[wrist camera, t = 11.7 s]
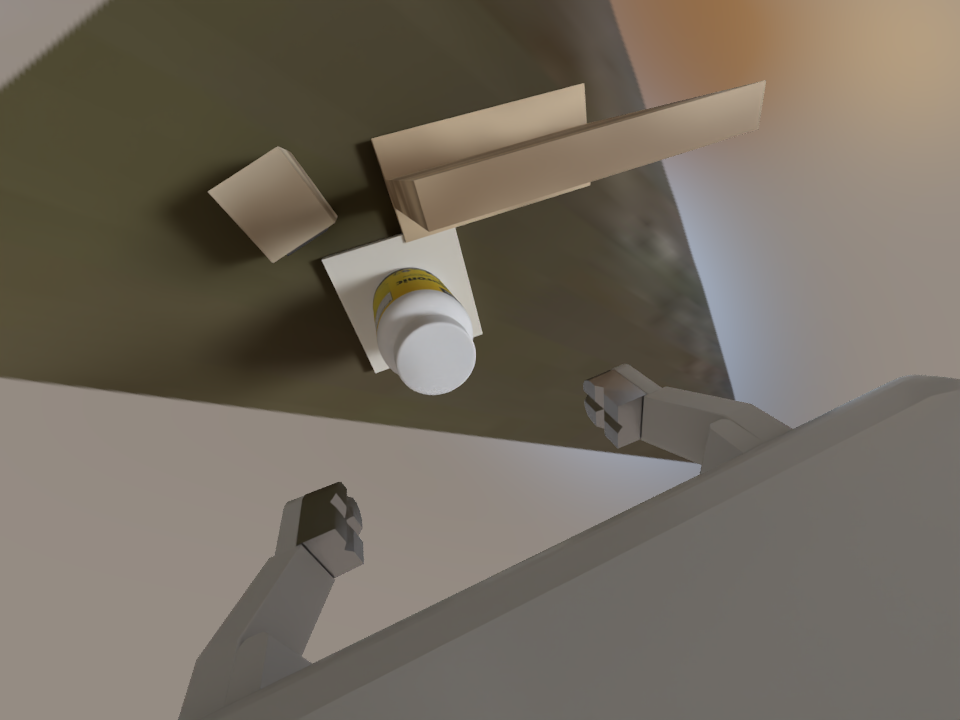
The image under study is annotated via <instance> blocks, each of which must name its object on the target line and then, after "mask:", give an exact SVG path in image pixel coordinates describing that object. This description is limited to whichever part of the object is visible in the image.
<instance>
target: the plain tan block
mask: <svg viewBox="0 0 960 720" xmlns="http://www.w3.org/2000/svg"><path fill="white" fill-rule="evenodd" d="M208 193H209V194H210V195H211V196H212V197H213V198H214V199H215V200H216V201H217V203H218V204H219V205H220V206H221V207H222V208H223V209H224V210H225V211H226V212H227V213H228V215H229V216H230V217H231V218H232V219H233V220H234V221H235V222H236V223H237V224H238V226H239V227H240V228H241V229H242V230H243V231H244V232H245V233H246V234H247V235H248V237H249V238H250V239H251V240H252V241H253V242H254V243H255V244H256V245H257V246H258V247H259V249H260V250H261V251H262V252H263V253H264V254H265V255H266V256H267V257H268V258H269V260H270V261H271V262H272V263H274V262H276V261H277V260H279V259H280V258H282V257H283V256H285V255H286V254H287V256H289V255H290V254H292V253H294V252H295V251H297V250H298V249H300V248H301V247H303V246H304V245H306V244H307V243H309V242H310V241H312V240H313V239H315V238H317V237H318V236H320V235H321V234H323V233H324V232H326V231H327V230H328V228H329V226H331V225H332V224H334V223H335V221H336V219H337V217H338V216H337V215H336V213H335V212H334V211H333V209H332V208H331V206H330V205H329V204H328V202H327V201H326V200H325V198H324V197H323V195H322V194H321V193H320V191H319V190H318V189H317V187H316V186H315V185H314V183H313V182H312V180H311V179H310V178H309V176H308V175H307V174H306V172H305V171H304V170H303V168H302V167H301V165H300V164H299V163H298V161H297V160H296V159H295V157H294V156H293V155H292V153H291V152H290V151H287V150H285V149H283V148H281V147H278V146H277V147H276V148H274V149H273V150H271V151H270V152H268V153H267V154H265V155H264V156H262V157H260V158H259V159H257V160H256V161H254V162H253V163H251V164H250V165H248V166H247V167H245V168H243V169H242V170H240V171H239V172H237V173H236V174H234V175H233V176H231V177H230V178H228V179H226V180H225V181H223V182H222V183H220V184H219V185H217V186H216V187H214V188H213V189H211V190H209V191H208Z"/></svg>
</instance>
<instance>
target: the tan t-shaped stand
mask: <svg viewBox="0 0 960 720" xmlns="http://www.w3.org/2000/svg"><path fill="white" fill-rule="evenodd" d="M765 83H766V80H765V81H761V82H757V83H753V84H748V85H744V86H740V87H736V88H732V89H729V90H724V91H720V92H716V93H711V94H707V95H703V96H699V97H695V98H691V99H687V100H682V101H678V102H674V103H670V104H666V105H662V106H658V107H654V108H649V109H645V110H641V111H637V112H633V113H629V114H625V115H621V116H616V117H612V118H608V119H604V120H600V121H596V122H592V123H588V124H587V122H586V105H585V88H584V83H583V84H579V85H575V86H571V87H568V88H564V89H560V90H556V91H552V92H548V93H545V94H541V95H537V96H533V97H529V98H525V99H522V100H518V101H514V102H510V103H506V104H502V105H499V106H495V107H491V108H487V109H483V110H479V111H476V112H472V113H468V114H464V115H460V116H456V117H453V118H449V119H445V120H441V121H437V122H433V123H430V124H426V125H422V126H418V127H414V128H410V129H406V130H403V131H399V132H395V133H391V134H387V135H383V136H380V137H376V138H372V139H371V143H372V145H373V148H374V151H375V154H376V157H377V160H378V163H379V166H380V169H381V172H382V175H383V178H384V181H385V184H386V187H387V190H388V193H389V195H390V198H391V201H392V204H393V207H394V210H395V213H396V216H397V219H398V222H399V225H400V228H401V231H402V233H403V234H404V237H405V240H406V243H407V242H410V241H413V240H417V239H420V238H423V237H426V236H429V235H433V234H436V233H439V232H442V231H445V230H449V229H452V228H455V227H458V226H461V225H465V224H468V223H471V222H474V221H477V220H480V219H484V218H487V217H490V216H493V215H496V214H500V213H503V212H506V211H509V210H512V209H516V208H519V207H522V206H525V205H528V204H532V203H535V202H538V201H541V200H544V199H548V198H551V197H554V196H557V195H560V194H564V193H567V192H570V191H573V190H576V189H580V188H583V187H586V186H589V185H590V182H591V181H595V180H598V179H601V178H604V177H608V176H611V175H614V174H617V173H620V172H624V171H627V170H630V169H633V168H637V167H640V166H643V165H646V164H649V163H653V162H656V161H659V160H662V159H665V158H669V157H672V156H675V155H678V154H682V153H685V152H688V151H691V150H694V149H697V148H701V147H704V146H707V145H710V144H713V143H717V142H720V141H723V140H727V139H730V138H733V137H736V136H739V135H743V134H746V133H749V132H752V131H756V130H758V128H759V122H760V116H761V109H762V103H763V96H764V91H765Z"/></svg>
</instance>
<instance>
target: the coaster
mask: <svg viewBox="0 0 960 720" xmlns="http://www.w3.org/2000/svg"><path fill="white" fill-rule="evenodd" d="M322 262H323V264H324V266H325V269H326V271H327V273H328V275H329V277H330V279H331V281H332V283H333V285H334V287H335V289H336V292H337V294H338V296H339V298H340V300H341V302H342V304H343V306H344V308H345V310H346V313H347V315H348V317H349V319H350V321H351V323H352V325H353V327H354V329H355V331H356V333H357V336H358V338H359V340H360V342H361V344H362V346H363V348H364V350H365V352H366V354H367V357H368V359H369V361H370V363H371V365H372V367H373V369H374V371H375V373H378V372H380V371H383V370H386V369H389V367H388V365H387V364H386V363H385V361H384V360H383V358H382V356H381V353H380V351H379V347H378V343H377V336H376V329H375V321H374V313H373V298H374V293H375V290H376V288H377V286H378V285H379V283H380V282H381V280H382V279H383V278H384V277H385V276H387V275H388V274H389V273H391V272H393V271H395V270H397V269H400V268H405V267H417V268H421V269H424V270H427V271H429V272H430V273H432V274H434V275H435V276H436V277H437V278H438V279H440V281H441V282H442V283H443V284H444V285H445V286H446V287H447V289H448V290H449V291H450V292H451V293H452V294H453V296H454V297H455V298H456V299H457V300H458V301H459V302H460V303H461V305H462V306H463V307H464V309H465V310H466V312H467V314H468V315H469V317H470V320H471V323H472V328H473V337H476V336H478V335H481V334H483V333H482V329H481V325H480V322H479V318H478V314H477V310H476V306H475V302H474V299H473V295H472V291H471V287H470V283H469V279H468V275H467V272H466V268H465V264H464V260H463V256H462V252H461V249H460V245H459V241H458V237H457V233H456V229H455V228H452V229H449V230H445V231H442V232H439V233H436V234H433V235H429V236H426V237H423V238H420V239H417V240H413V241H410V242H407V243H406V240H405V237H404V234H403V233H401V234H398V235H394V236H391V237H388V238H385V239H381V240H378V241H375V242H372V243H368V244H365V245H362V246H359V247H355V248H352V249H349V250H346V251H342V252H339V253H336V254H333V255H329V256H326V257H323V258H322Z"/></svg>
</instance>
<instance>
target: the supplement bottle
mask: <svg viewBox="0 0 960 720" xmlns="http://www.w3.org/2000/svg"><path fill="white" fill-rule="evenodd" d="M373 313H374V321H375V329H376V336H377V343H378V347H379V351H380V353H381V356H382V358H383V360H384V361H385V363H386V364H387V365H388V367H389V368H390V369H391V370H393V371H394V372H395V373H397V374H398V375H399V376H400V378H401V379H402V381H403V382H404V383H405V384H406V385H407V386H408V387H409V388H411V389H412V390H414V391H416V392H418V393H422V394H426V395H439V394H443V393H447V392H450V391H452V390H454V389H456V388H457V387H459V386H460V385H461V384H462V383H464V382H465V380H466V379H467V378H468V377H469V375H470V374H471V372H472V370H473V368H474V365H475V360H476V350H475V346H474V343H473V328H472V323H471V320H470V317H469V315H468V314H467V312H466V310H465V309H464V307H463V306H462V305H461V303H460V302H459V301H458V300H457V299H456V298H455V297H454V296H453V294H452V293H451V292H450V291H449V290H448V289H447V287H446V286H445V285H444V284H443V283H442V282H441V281H440V279H438V278H437V277H436V276H435V275H434V274H432V273H430V272H429V271H427V270H424V269H421V268H417V267H405V268H400V269H397V270H395V271H393V272H391V273H389V274H388V275H387V276H385V277H384V278H383V279H382V280H381V282H380V283H379V285H378V286H377V288H376V290H375V293H374V298H373Z"/></svg>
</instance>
